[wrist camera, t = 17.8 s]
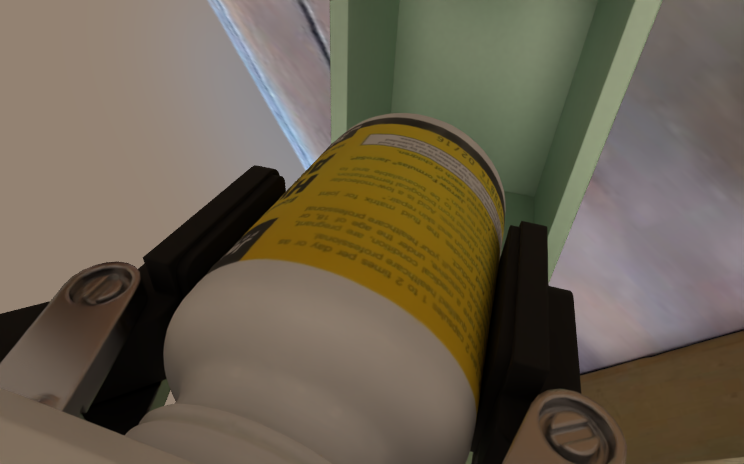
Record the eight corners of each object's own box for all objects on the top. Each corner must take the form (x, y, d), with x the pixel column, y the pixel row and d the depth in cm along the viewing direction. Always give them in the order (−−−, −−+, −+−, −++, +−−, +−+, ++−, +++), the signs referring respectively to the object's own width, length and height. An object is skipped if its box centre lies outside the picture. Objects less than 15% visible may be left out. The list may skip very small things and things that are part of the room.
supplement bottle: (351, 72, 11) (-83, 406, 3) (547, 160, 11) (563, 745, 3) (307, 225, 14) (45, 562, 7) (454, 295, 14) (354, 729, 6)
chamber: (393, -70, 25) (328, -67, 17) (632, -54, 22) (680, -42, 14) (378, 170, 34) (331, 241, 27) (543, 203, 32) (544, 293, 24)
